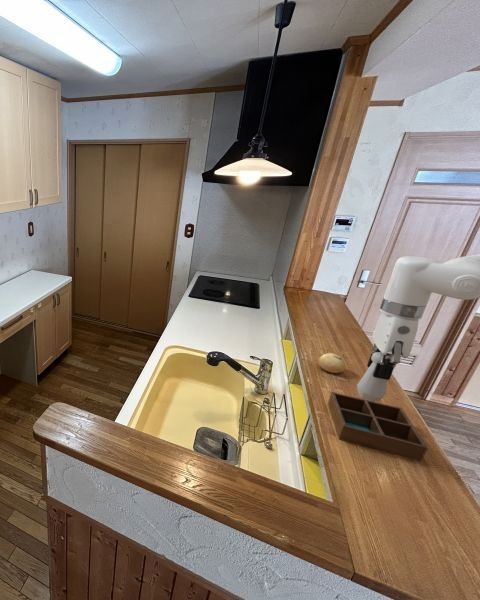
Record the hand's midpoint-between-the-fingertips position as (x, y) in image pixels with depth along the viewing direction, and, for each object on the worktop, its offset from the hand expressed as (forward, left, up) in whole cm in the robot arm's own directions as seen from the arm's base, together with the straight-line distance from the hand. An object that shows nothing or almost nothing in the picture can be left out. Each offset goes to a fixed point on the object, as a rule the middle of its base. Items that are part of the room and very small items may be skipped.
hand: (377, 372), depth 84 cm
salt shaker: (0, 0, -8) cm, 8 cm away
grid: (-6, -1, -20) cm, 21 cm away
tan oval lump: (-23, -29, -21) cm, 42 cm away
